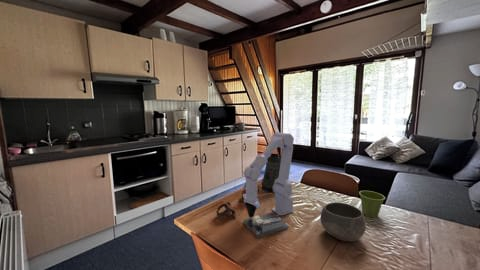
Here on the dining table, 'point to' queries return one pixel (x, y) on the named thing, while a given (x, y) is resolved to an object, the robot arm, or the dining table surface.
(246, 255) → the dining table surface
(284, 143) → the robot arm
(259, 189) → the stuffed squirrel
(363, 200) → the plant pot
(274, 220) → the strap
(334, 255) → the dining table surface
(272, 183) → the beer stein
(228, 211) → the pottery mug
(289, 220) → the dining table surface
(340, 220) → the bowl
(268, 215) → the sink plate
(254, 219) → the block
